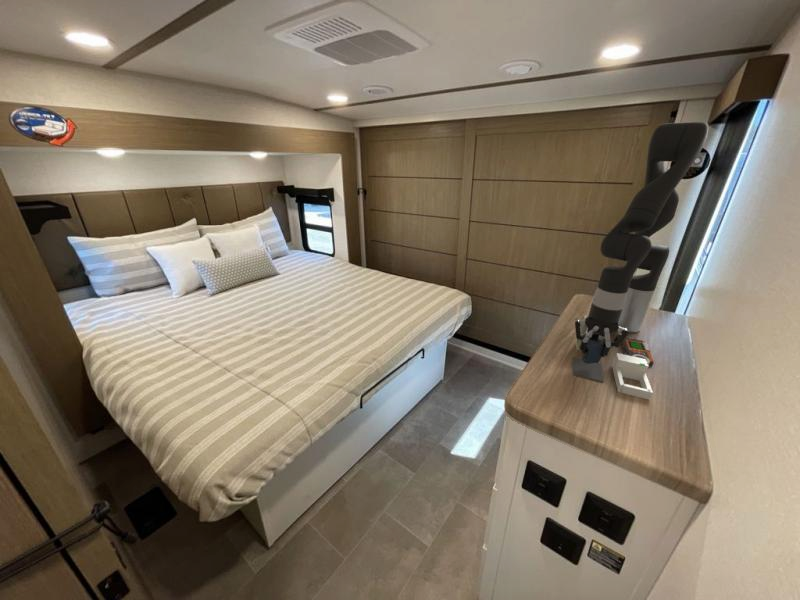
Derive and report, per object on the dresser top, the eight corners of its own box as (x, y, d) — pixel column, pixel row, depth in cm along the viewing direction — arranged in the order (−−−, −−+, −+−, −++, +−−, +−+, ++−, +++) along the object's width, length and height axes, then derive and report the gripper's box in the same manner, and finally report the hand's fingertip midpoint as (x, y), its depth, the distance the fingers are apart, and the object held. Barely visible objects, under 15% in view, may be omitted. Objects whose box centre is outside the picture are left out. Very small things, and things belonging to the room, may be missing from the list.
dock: (608, 350, 106) (613, 337, 104) (634, 355, 103) (639, 342, 101) (617, 391, 87) (623, 376, 85) (649, 399, 84) (656, 384, 82)
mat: (572, 358, 102) (573, 357, 102) (600, 364, 99) (600, 363, 99) (573, 375, 94) (573, 374, 94) (603, 382, 91) (603, 381, 91)
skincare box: (595, 348, 108) (604, 317, 102) (596, 354, 104) (606, 323, 99) (574, 344, 110) (583, 313, 105) (575, 350, 106) (583, 319, 101)
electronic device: (631, 359, 98) (623, 335, 110) (628, 367, 99) (620, 342, 111) (657, 365, 95) (646, 339, 107) (653, 372, 96) (643, 346, 109)
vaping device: (579, 359, 96) (589, 326, 91) (595, 358, 96) (606, 325, 91) (585, 364, 94) (595, 330, 89) (601, 363, 94) (612, 329, 89)
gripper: (635, 303, 87) (618, 353, 94) (578, 294, 93) (566, 342, 100) (640, 313, 81) (621, 366, 88) (579, 303, 87) (566, 353, 94)
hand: (592, 353), depth 94 cm, fingers closed on vaping device, 4 cm apart
